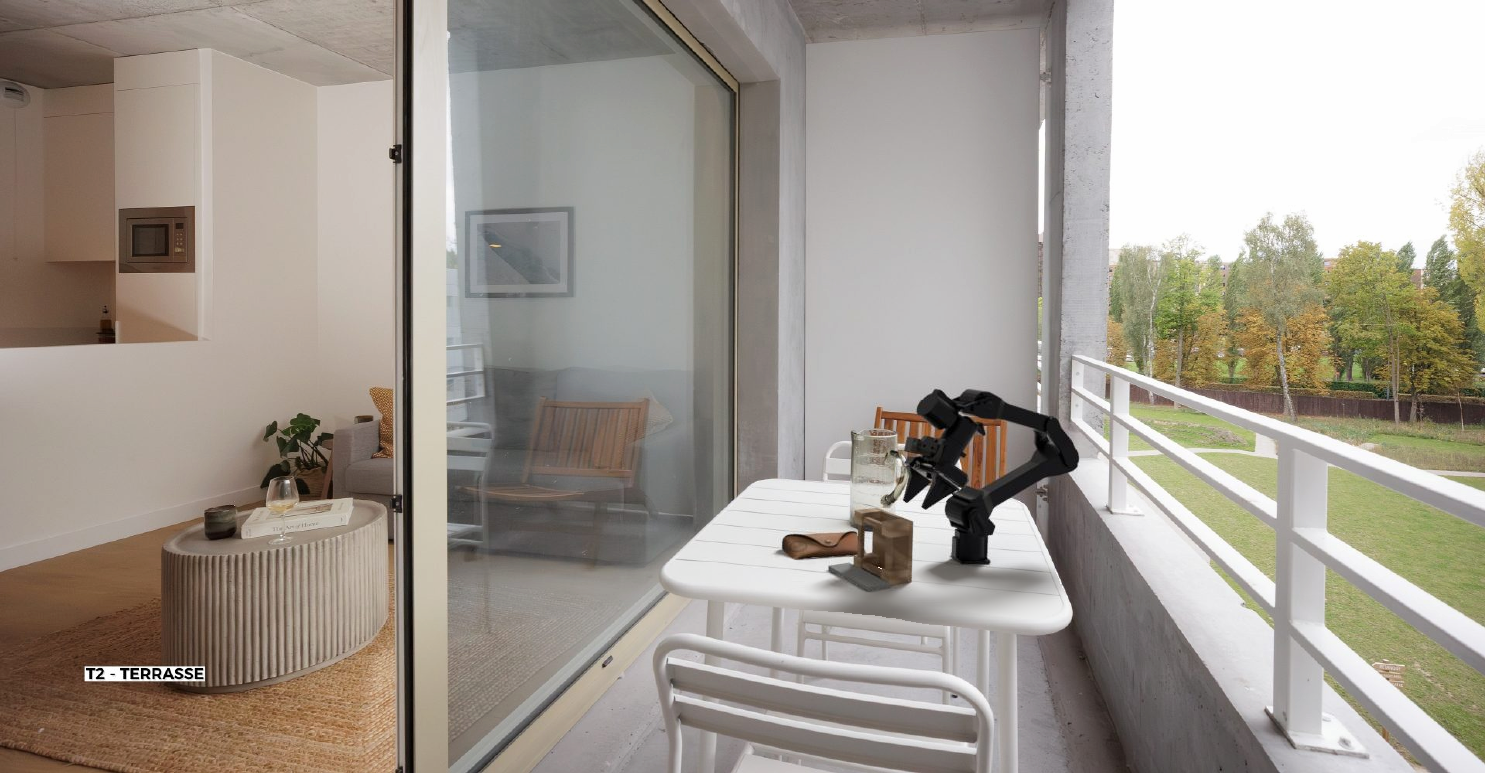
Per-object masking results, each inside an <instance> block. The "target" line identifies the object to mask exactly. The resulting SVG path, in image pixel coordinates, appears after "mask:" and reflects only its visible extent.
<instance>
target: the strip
mask: <svg viewBox="0 0 1485 773" xmlns="http://www.w3.org/2000/svg"><path fill="white" fill-rule="evenodd" d="M827 568H828V569H829V571H830V572H832V571H833V572H832V573H834V574H835V573H836V575H837V574H839V575H840V577H841V576H842V577H841V578H843V577H844V578H846V579H847V580H846V579H845V580H846V581H848V580H849V582H850V581H851V582H850V583H852V582H853V583H852V584H854V585H855V584H857V585H859V586H860V587H859V586H858V587H859V588H861V587H862V588H861V589H863V588H864V589H866V590H867V592H868V591H869V592H873V591H872V590H875V591H878V590H877V589H880V590H884V589H883V588H886V589H890V588H891V585H890V583H888V582H886V581H884V580H882V579H881V577H877V575H874V574H872V573H871V572H868V571H867V570H865V571H864V570H862V569H861V568H859V567H857V566H855V565H853V563H851V562H844V563H838V564H831V565H830V564H829V565H828V567H827ZM839 575H838V576H839ZM844 578H843V579H844ZM857 585H856V586H857ZM864 589H863V590H864ZM866 590H865V591H866Z"/></svg>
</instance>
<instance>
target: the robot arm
mask: <svg viewBox="0 0 1485 773" xmlns="http://www.w3.org/2000/svg"><path fill="white" fill-rule="evenodd" d="M960 413H961V414H962V415H961V414H960ZM916 414H917V416H919V417H920V418H921V419H923V420H924V421H925V422H927V423H928V424H929V425H930V426H932V427H933V428H934V429H936V430H938V431H942V432H941V434H940V436H939V437H933V436H929V435H923V436H922V437H921V438H917V437H912V436H907V437H906V439H905V443H904V444H905V445H904V448H903V452H906V453H910V454H912V455H908V456H907V458H906V459H905V461H904V462H903V463H904V465H905V469H906V471H907V474H908V479H907V482H906V488H905V491H904V495H903V497H902V501H903V502H904V503H905V504H908V503H909V502H911V501H912V500H913V499H914V498H915V497H917V496H918V495H919V494H920V493H921V492H922V491H923V490H925V488H926V487H928V486H929V485H930V486H929V488H928V490H927V493H926V495H925V497H924V499H923V502H922V504H921V509H923V510H928V509H929V508H932V507H933V506H934V505H936V504H938V503H939V502H941V501H942V500H943V499H945V498H947V497H948V498H947V500H946V501H945V506H944V513H945V516H946V518H947V520H948V522H949V524H950V527H952V528H954V535H952V537H951V553H950V556H952V557H953V558H955V560H956V561H958V562H959V563H960V564H991V559H989V558H988V554H989V552H988V550H989V549H988V548H989V547H988V546H989V536H993V535H994V532H995V530H996V524H994V522H993V521H992V520H991V519H990V517H991V516H992V513H993V511H994V509H995V508H996V507H998V506H1000V505H1002V504H1003V503H1005V502H1006V501H1008V500H1010V499H1012V498H1013V497H1015V496H1017V495H1019V494H1020V493H1022V492H1023V491H1025V490H1027V489H1029V488H1031V487H1032V486H1034V485H1035V484H1037V483H1039V482H1041V481H1042V480H1044V479H1047V478H1054V477H1060V476H1063V475H1067V474H1069V473H1071V472H1074V471H1075V470H1077V468H1078V467H1079V463H1080V455H1079V454H1080V453H1079V451H1078V450H1077V448H1076V445H1075V444H1074V442H1073V440H1072V439H1071V437H1070V436H1069V435H1068V434H1067V433H1066V431H1065V430H1064V429H1063V428H1062V426H1061V423H1060V421H1059V419H1058V418H1057V417H1055V416H1053V415H1047V414H1042V413H1040V412H1036V411H1033V410H1030V409H1028V408H1023V407H1020V406H1018V405H1013V404H1011V403H1008V402H1006V401H1005V400H1003V398H1001V397H1000V396H998V395H996V394H995V393H993V392H990V391H986V390H981V389H973V388H967V389H965V390H964V391H962V393H961V394H960V395H959V396H956V397H953V398H950V397H949V396H948V395H947V394H946V393H945V391H943V390H941V389H938V388H935V389H933V391H932V392H931V393H929V394H927V395H926V396H924V397H923V398H922V399H920V401H919V402H918V404H917V406H916ZM971 417H973V418H979V419H983V420H997V421H1003V422H1006V423H1010V424H1014V425H1017V426H1020V427H1024V428H1027V429H1030V430H1032V431H1033V433H1034V436H1033V438H1034V441H1033V442H1034V444H1033V445H1034V446H1035V448H1036V450H1034V452H1033V454H1032V456H1031V458H1030V460H1028V461H1027V462H1025V463H1024V464H1021V465H1020V466H1018V467H1016V468H1015V469H1013V470H1011V471H1009V472H1008V473H1006V474H1004V475H1002V476H1000V477H999V478H997V479H996V480H993V481H991V482H990V483H989V484H986V485H985V486H983V487H982V488H979V489H978V488H975V487H973V486H970V485H968V483H969V482H970V480H969V474H967V473H966V472H965V471H963V470H962V469H961V468H960V467H958V466H957V463H958V462H959V460H960V459H965V458H966V456H967V453H965V451H966V449H967V448H968V446H969V444H970V443H971V441H972V439H973V437H975V435H979V436H982V437H985V436H986V435H987V434H986V430H985V427H984V422H982V421H975V419H973V418H971ZM949 496H950V497H949Z"/></svg>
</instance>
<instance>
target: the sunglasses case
mask: <svg viewBox="0 0 1485 773" xmlns="http://www.w3.org/2000/svg"><path fill="white" fill-rule="evenodd" d="M857 546H858V531H854V530H849V531H845V532H844V531H843V532H822V533H821V532H820V533H818V532H817V533H805V534H803V533H790V534H786V535H785V536H784V537H783V538H782V541H781V549H782V550H783V551H784V553H786V555H788V556H789V557H790V558H791V559H793V560H794V561H795V560H797V561H798V560H805V559H804V558H807V559H813V558H812V557H819V558H830V556H831V558H832V556H834V557H845V556H846V555H850V556H854V555H857ZM864 553H867V552H866V550H865V549H864ZM846 557H847V556H846Z"/></svg>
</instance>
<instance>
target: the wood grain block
mask: <svg viewBox="0 0 1485 773" xmlns="http://www.w3.org/2000/svg"><path fill="white" fill-rule="evenodd" d="M853 520H854V521H853V522H854V524H856V525H857V536H858V546H857V555H853V563H852V564H853V565H855V566H857V567H859V568H861V569H862V570H865V571H869V572H870V573H873V574H875V575H876V576H879V578H880V579H882V580H884V581H886V582H888V583H890V586H894V585H893V584H896V585H901V584H907V583H912V579H913V575H912V574H913V550H914V548H913V545H914V540H913V539H914V521H913V520H911V519H907V518H905V517H902V516H900V515H897V514H894V513H891V512H890V511H886V510H884V509H882V508H878V507H872V508H871V507H870V508H864V509H863V508H861V509H855V510H854V519H853ZM866 526H872V545H871V546H872V547H871V552H866V553H864V550H865V537H866V535H865V534H866V532H865V531H866ZM878 567H880V568H882V569H880V568H878Z"/></svg>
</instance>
